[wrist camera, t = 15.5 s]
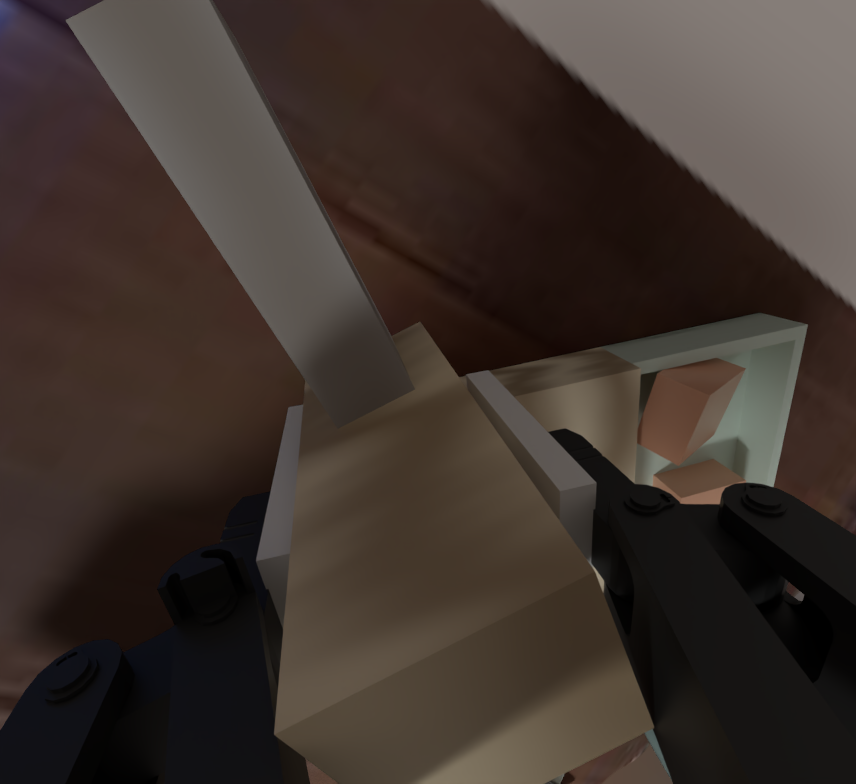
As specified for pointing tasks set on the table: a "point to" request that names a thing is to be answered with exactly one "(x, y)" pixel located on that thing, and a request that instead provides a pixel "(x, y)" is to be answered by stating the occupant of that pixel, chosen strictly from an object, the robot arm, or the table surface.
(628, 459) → the board
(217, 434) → the table surface
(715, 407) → the tile
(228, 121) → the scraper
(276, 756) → the robot arm
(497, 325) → the table surface
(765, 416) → the tray
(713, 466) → the tile
